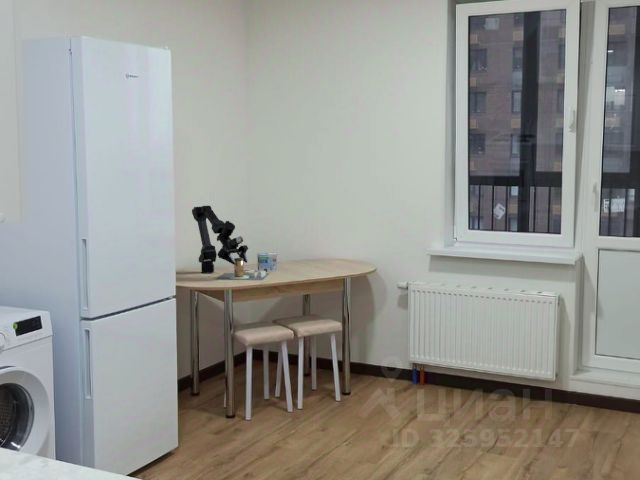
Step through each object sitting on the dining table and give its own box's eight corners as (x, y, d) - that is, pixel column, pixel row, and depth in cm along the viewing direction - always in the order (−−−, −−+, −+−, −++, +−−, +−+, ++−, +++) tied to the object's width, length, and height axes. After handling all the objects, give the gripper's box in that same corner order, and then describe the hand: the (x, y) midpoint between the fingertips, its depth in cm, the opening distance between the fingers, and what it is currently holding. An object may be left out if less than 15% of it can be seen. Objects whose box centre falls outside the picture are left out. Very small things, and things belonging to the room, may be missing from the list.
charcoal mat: (215, 280, 417) (215, 279, 417) (224, 273, 441) (224, 272, 441) (262, 281, 415) (262, 280, 415) (269, 274, 439) (269, 273, 439)
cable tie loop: (243, 275, 430) (243, 270, 430) (254, 274, 436) (254, 269, 436) (257, 277, 423) (257, 272, 423) (268, 275, 430) (268, 270, 429)
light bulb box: (259, 273, 444) (259, 254, 443) (257, 271, 451) (257, 253, 449) (277, 272, 447) (277, 253, 446) (275, 270, 453) (274, 252, 452)
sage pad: (227, 279, 417) (227, 278, 417) (231, 276, 428) (231, 275, 428) (247, 279, 416) (247, 278, 416) (250, 276, 427) (250, 275, 427)
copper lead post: (233, 277, 420) (233, 258, 419) (235, 275, 425) (235, 257, 424) (242, 277, 419) (242, 259, 418) (244, 276, 424) (244, 257, 423)
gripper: (220, 233, 415) (235, 255, 409) (245, 230, 429) (260, 252, 423) (211, 246, 421) (225, 268, 415) (236, 243, 435) (250, 264, 429)
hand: (240, 263), depth 420 cm, fingers open, 9 cm apart
